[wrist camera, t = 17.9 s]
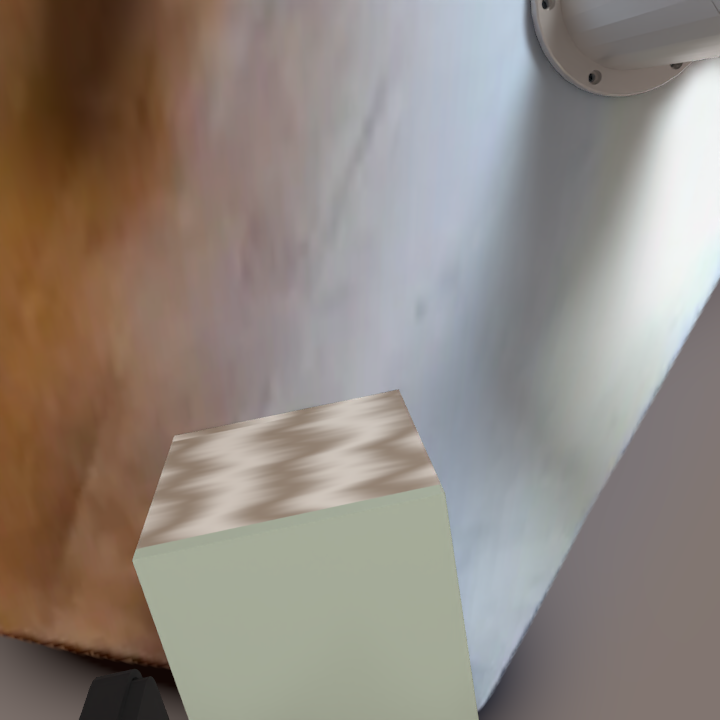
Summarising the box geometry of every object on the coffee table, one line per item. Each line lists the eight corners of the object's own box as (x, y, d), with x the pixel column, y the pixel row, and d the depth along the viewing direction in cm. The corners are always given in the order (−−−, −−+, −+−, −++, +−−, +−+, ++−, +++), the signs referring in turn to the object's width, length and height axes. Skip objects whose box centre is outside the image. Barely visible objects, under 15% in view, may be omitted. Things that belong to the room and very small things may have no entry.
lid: (440, 484, 37) (444, 493, 36) (474, 710, 43) (479, 723, 42) (136, 549, 36) (132, 560, 35) (213, 770, 42) (212, 785, 41)
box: (398, 389, 50) (440, 484, 37) (429, 572, 56) (474, 710, 43) (174, 435, 49) (136, 549, 36) (229, 616, 55) (213, 770, 42)
